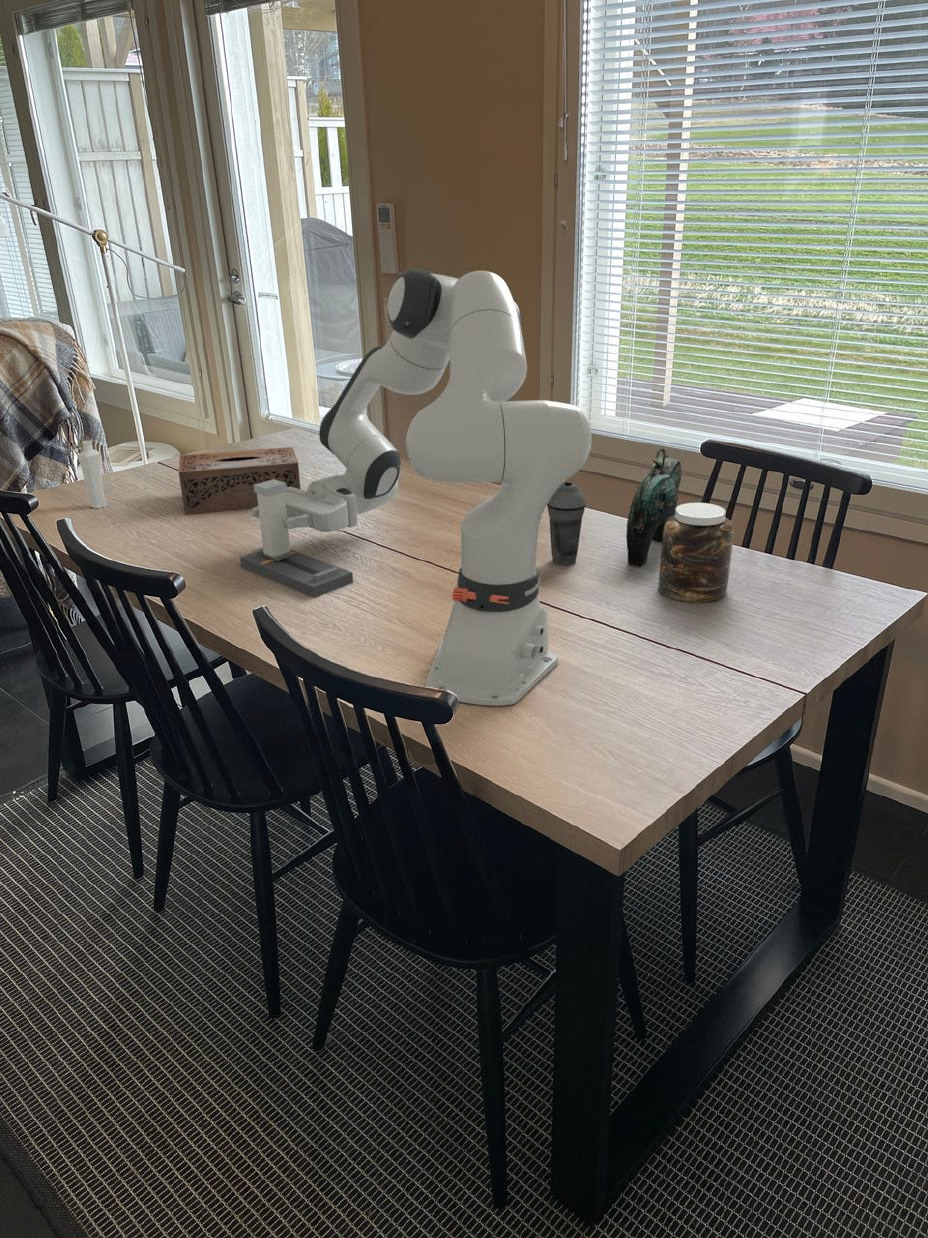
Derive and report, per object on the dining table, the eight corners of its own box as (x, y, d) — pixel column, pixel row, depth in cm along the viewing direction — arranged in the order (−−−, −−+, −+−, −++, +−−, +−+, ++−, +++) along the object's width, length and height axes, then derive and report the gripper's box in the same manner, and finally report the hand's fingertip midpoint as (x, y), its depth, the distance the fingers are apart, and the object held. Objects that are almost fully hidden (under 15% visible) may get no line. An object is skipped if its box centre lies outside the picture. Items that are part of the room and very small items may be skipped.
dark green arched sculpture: (653, 533, 192) (661, 437, 184) (683, 538, 189) (693, 441, 181) (617, 564, 177) (624, 462, 168) (650, 570, 174) (658, 466, 165)
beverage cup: (581, 570, 174) (586, 466, 166) (542, 567, 176) (545, 464, 167) (584, 555, 181) (589, 455, 172) (547, 553, 182) (550, 453, 174)
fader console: (353, 582, 170) (351, 567, 169) (314, 597, 164) (313, 581, 163) (278, 553, 184) (277, 539, 182) (241, 566, 178) (239, 552, 176)
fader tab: (293, 555, 176) (286, 483, 170) (274, 562, 173) (266, 488, 167) (280, 550, 179) (273, 478, 173) (261, 557, 176) (252, 484, 170)
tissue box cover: (185, 516, 206) (178, 472, 202) (185, 496, 219) (179, 455, 214) (301, 505, 212) (298, 462, 208) (296, 487, 224) (292, 446, 220)
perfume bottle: (114, 504, 213) (102, 440, 206) (98, 510, 210) (86, 444, 203) (101, 501, 215) (89, 437, 209) (85, 506, 212) (72, 442, 205)
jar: (675, 572, 173) (682, 495, 166) (736, 586, 167) (746, 506, 160) (647, 593, 164) (654, 513, 158) (710, 609, 158) (720, 525, 152)
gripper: (292, 475, 187) (234, 491, 177) (360, 495, 174) (302, 514, 165) (295, 505, 189) (238, 522, 180) (362, 527, 177) (305, 547, 168)
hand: (269, 518), depth 172 cm, fingers open, 8 cm apart
